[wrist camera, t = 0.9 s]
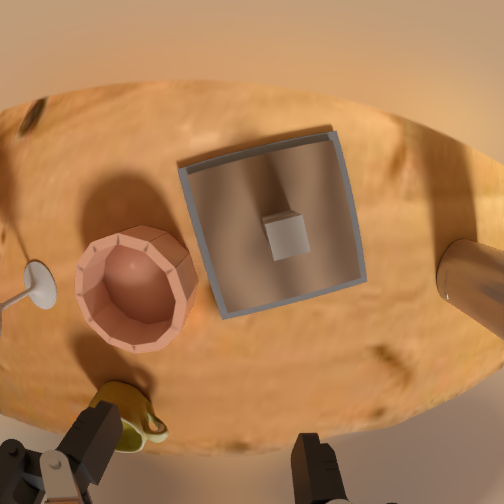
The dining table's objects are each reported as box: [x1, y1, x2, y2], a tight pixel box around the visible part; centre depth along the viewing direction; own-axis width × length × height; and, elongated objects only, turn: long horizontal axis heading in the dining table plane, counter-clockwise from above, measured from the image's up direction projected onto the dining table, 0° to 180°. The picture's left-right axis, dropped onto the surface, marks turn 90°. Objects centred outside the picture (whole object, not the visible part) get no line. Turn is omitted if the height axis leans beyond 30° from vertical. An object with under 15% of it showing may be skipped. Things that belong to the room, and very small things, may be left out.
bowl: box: [75, 225, 198, 354], centre depth 27 cm, size 12×12×6 cm
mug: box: [88, 381, 169, 453], centre depth 31 cm, size 12×10×10 cm
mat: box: [178, 131, 367, 320], centre depth 28 cm, size 17×17×1 cm
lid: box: [187, 140, 361, 313], centre depth 25 cm, size 15×15×7 cm
